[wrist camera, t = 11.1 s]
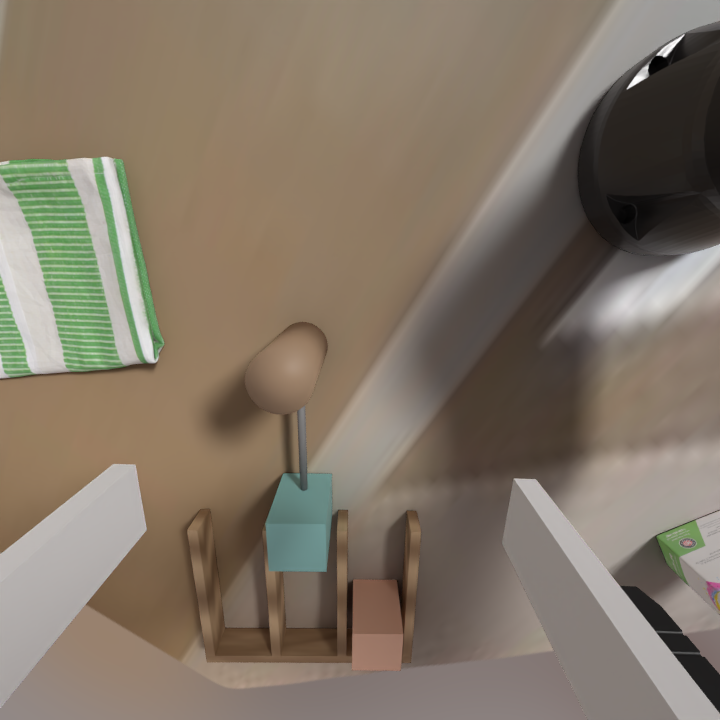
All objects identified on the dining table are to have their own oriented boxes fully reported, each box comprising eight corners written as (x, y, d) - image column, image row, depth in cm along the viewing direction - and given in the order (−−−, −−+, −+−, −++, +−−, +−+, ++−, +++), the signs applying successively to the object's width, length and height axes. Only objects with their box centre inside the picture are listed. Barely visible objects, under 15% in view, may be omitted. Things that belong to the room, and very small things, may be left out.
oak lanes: (200, 509, 36) (187, 530, 33) (416, 510, 36) (421, 532, 33) (217, 634, 41) (206, 662, 38) (407, 634, 41) (410, 662, 38)
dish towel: (-157, 175, 28) (-211, 165, 25) (125, 152, 27) (101, 140, 25) (-66, 380, 33) (-103, 391, 30) (175, 363, 32) (158, 372, 30)
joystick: (275, 321, 31) (236, 348, 21) (330, 322, 31) (318, 349, 21) (285, 514, 36) (259, 604, 27) (332, 514, 36) (323, 605, 27)
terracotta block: (353, 579, 39) (352, 633, 33) (396, 579, 39) (403, 634, 33) (352, 612, 40) (351, 670, 34) (394, 612, 40) (400, 670, 35)
